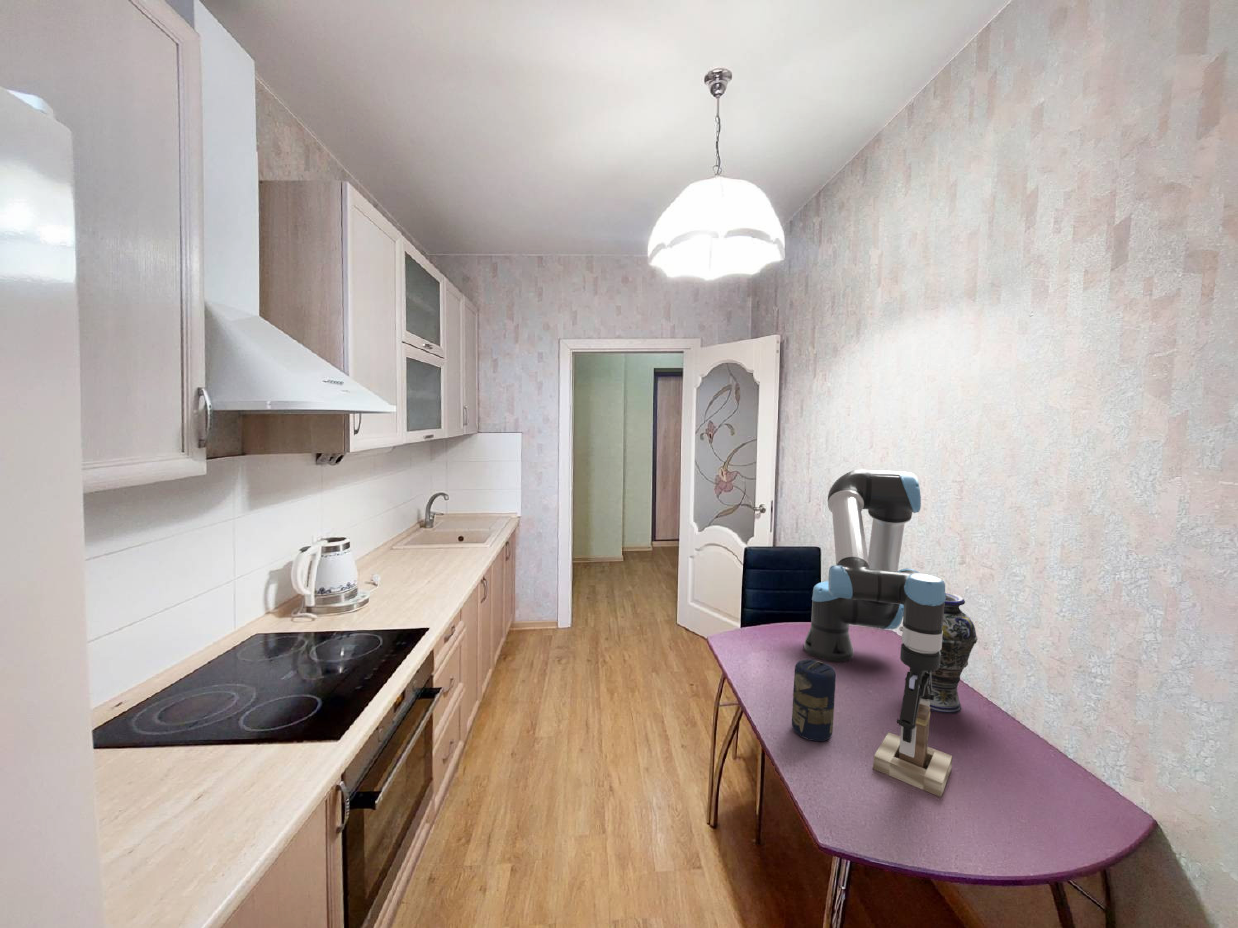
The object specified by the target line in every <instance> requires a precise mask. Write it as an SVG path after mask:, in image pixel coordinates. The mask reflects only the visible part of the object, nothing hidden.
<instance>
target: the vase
mask: <svg viewBox="0 0 1238 928" xmlns="http://www.w3.org/2000/svg"><path fill="white" fill-rule="evenodd" d="M945 594H946V599H945V605H944V617H943V628H942V631H943V635H942V649H941V650H940V653H941V658H940V667H939V669H938V670H936V671H931V672H932V690H933V692H932V693H930V694H931V695H934V700H930V699H928V700H929V701H930V711H931V712H935V713H939V714H940V713H941V714H959V713H960V712H961V711H962V705H961V700H960V697H959V693H958V692H959V691H958V686H959V683H960V681H961V676H962V672H963V670H964V669H965V668H966V667H967V666H968V665H969V662H968V661H969V658H970V656H971V653H972V651H973V648H974V646H975V645H976V644H977V642H978V636H977V631H976V627H975V624H974V623H973V621H972V619H971V618H970V617H969V616H968V615H967V614H966V613H965V612H963V610H961V609H960V606H963V605H965V604H966V601H965V599H964V598H963V597H962V596H960V595H958V594H956V593H953V592H952V593H951V592H948V591H945Z"/></svg>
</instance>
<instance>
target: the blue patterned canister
mask: <svg viewBox="0 0 1238 928" xmlns="http://www.w3.org/2000/svg"><path fill="white" fill-rule="evenodd" d="M793 675H794V676H793V677H794V678H793V691H792V711H791V727H792V729H793V731H794V732H795V734H798V736H800V737H802V738H804V739H805V740H810V741H814V742H823V741H827V740H829V739H830V738H832V737H831V736H832V735H833V729H834V716H835V715H834V712H835V698H836V695H835V693H836V682H837V672H836V670H835V668H833V666H831V665H830V664H828V663H826V662H824V661H821V660H817V659H808V658H807V659H800V660H799V661H797V662H796V664H795V665H794V674H793Z"/></svg>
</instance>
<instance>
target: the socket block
mask: <svg viewBox="0 0 1238 928" xmlns="http://www.w3.org/2000/svg"><path fill="white" fill-rule="evenodd" d="M899 749H900V735H897V734H894V733H891V732H887V734H886V736H885V737H884V739H883V740H882V742H881V744H880V746H879V747H878V749H877V750H876V752H875V754H874V755H873V765H872V766H873V767H872V769H873V770H874V771H876V772H877V771H878V772H880V773H882V774H884V775H887V776H888V777H889V776H890V777H892V778H893V779H896V780H899V781H901V782H904V783H906V784H908V785H910V786H913V787H915V788H918V789H920V790H922V791H925V792H928V793H930V794H931V795H932V794H933V795H935V796H937V797H940V798H942V796H943V794H944V791H945V787H946V785H947V782H948V780H949V776H950V774H951V771H952V769H953V768H952V765H953V755H951V754H948V753H945V752H943V751H940V750H937V749H934V748H932V747H929V746H928V748H927V762H926V769H924V768H921V767H919V766H916V765H914V764H911V763H909V762H906V761H904V760H901V759H899V756H900V752H899Z"/></svg>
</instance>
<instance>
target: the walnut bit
mask: <svg viewBox="0 0 1238 928" xmlns="http://www.w3.org/2000/svg"><path fill="white" fill-rule="evenodd" d="M930 718H931V710H930V707H929V706H926V705H923V704H920V703H919V709H918V714H917V719H916V724H915V725H916V741H915V755H914V758H913V757H910V756H908V755H905V754H903V753H900V756H899V759H901V760H904V761H906V762H909V763H911V764H914V765H916V766H919V767H921V768H924V769H926V762H927V748H928V747H929V745H928V744H929V734H930V733H929V730H930Z"/></svg>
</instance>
